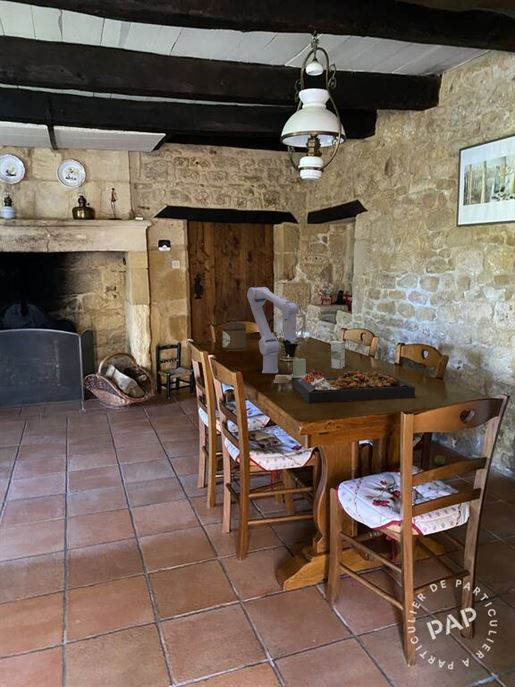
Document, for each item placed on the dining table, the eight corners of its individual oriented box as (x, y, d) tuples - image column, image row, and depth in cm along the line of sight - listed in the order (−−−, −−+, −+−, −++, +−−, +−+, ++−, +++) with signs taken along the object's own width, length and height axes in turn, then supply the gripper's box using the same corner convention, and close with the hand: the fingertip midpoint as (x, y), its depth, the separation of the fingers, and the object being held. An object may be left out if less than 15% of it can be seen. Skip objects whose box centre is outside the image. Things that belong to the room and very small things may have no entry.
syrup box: (344, 367, 265) (345, 340, 263) (340, 369, 260) (341, 342, 258) (334, 366, 268) (335, 339, 266) (330, 368, 263) (330, 341, 260)
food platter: (308, 403, 198) (308, 378, 197) (293, 388, 222) (293, 366, 221) (414, 397, 206) (415, 373, 204) (388, 384, 230) (389, 362, 228)
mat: (291, 374, 249) (291, 373, 249) (306, 374, 248) (306, 373, 248) (291, 377, 242) (291, 377, 241) (307, 378, 241) (307, 377, 241)
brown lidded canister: (221, 351, 319) (220, 317, 315) (244, 350, 321) (244, 316, 318) (224, 355, 304) (223, 319, 301) (248, 354, 307) (247, 319, 303)
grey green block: (292, 375, 245) (292, 359, 243) (303, 374, 247) (303, 358, 246) (294, 376, 243) (295, 360, 242) (305, 375, 245) (305, 359, 244)
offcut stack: (273, 382, 234) (273, 375, 233) (288, 382, 234) (288, 375, 233) (273, 383, 231) (273, 376, 231) (288, 383, 231) (289, 376, 231)
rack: (275, 377, 242) (275, 374, 242) (291, 378, 241) (291, 374, 241) (275, 380, 237) (275, 377, 237) (291, 380, 236) (291, 377, 236)
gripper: (278, 326, 246) (278, 353, 248) (284, 330, 232) (284, 359, 234) (292, 326, 247) (292, 353, 249) (299, 329, 233) (299, 358, 235)
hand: (289, 356), depth 241 cm, fingers open, 7 cm apart
